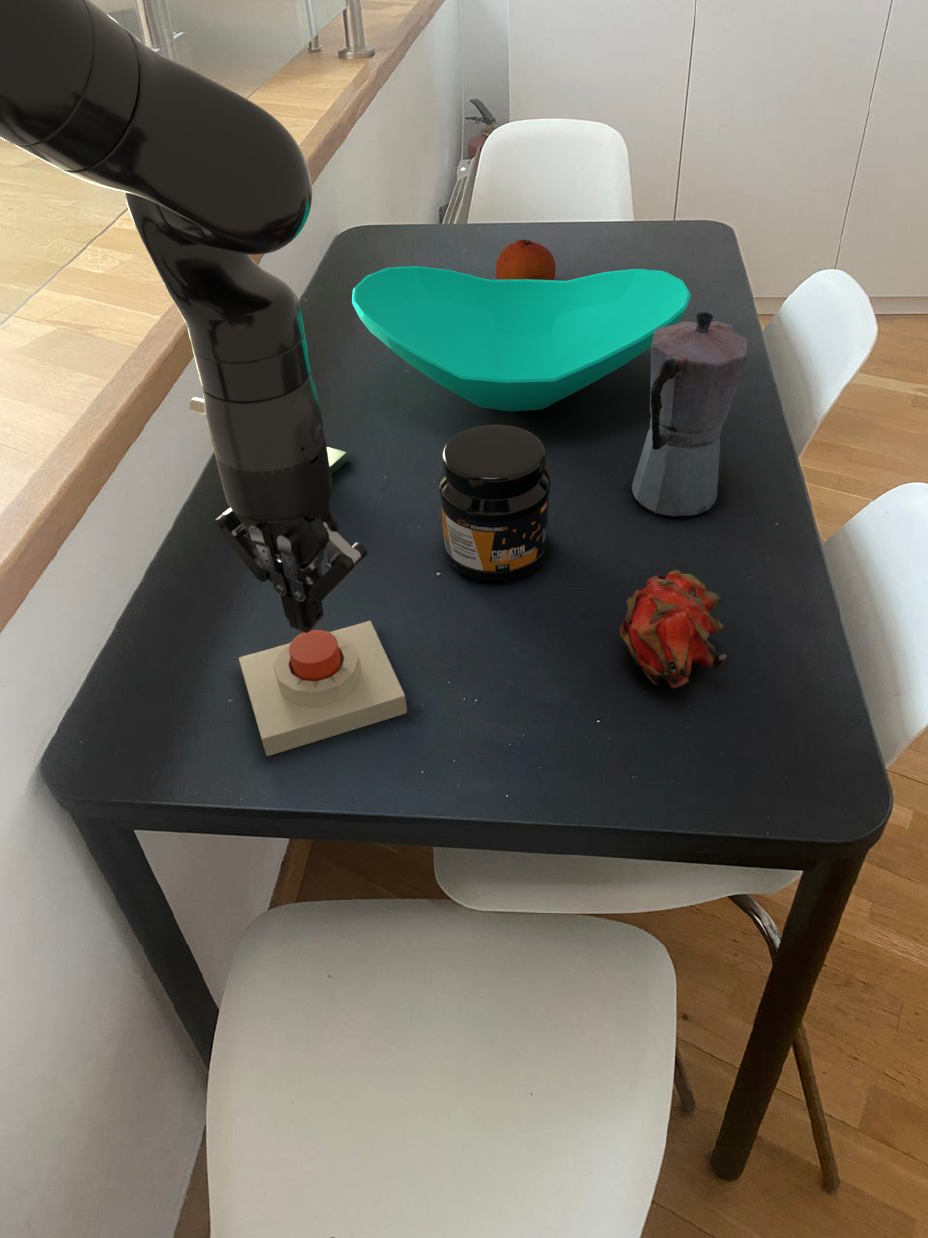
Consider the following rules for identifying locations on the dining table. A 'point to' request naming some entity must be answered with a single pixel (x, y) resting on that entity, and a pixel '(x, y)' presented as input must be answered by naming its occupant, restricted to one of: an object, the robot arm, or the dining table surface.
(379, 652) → the button base
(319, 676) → the button
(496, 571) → the supplement container
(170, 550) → the dining table surface
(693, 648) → the dragon fruit
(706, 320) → the moka pot
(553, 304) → the table top decor
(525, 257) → the fruit
